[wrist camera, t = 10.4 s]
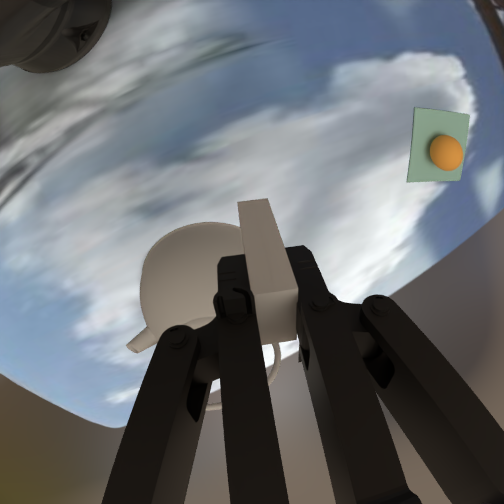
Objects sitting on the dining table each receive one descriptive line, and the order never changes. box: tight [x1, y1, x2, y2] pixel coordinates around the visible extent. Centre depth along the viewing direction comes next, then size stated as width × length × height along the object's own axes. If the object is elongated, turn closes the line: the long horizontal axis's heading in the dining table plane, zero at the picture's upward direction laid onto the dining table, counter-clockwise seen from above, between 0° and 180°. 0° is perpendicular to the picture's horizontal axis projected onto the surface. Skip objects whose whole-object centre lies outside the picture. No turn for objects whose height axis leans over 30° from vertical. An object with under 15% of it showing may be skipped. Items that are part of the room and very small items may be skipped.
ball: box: [430, 135, 463, 171], centre depth 37 cm, size 6×6×6 cm
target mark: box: [407, 107, 470, 182], centre depth 39 cm, size 12×12×1 cm
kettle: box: [126, 222, 281, 411], centre depth 41 cm, size 25×23×23 cm
